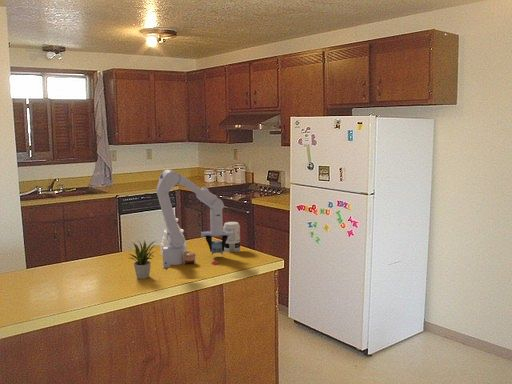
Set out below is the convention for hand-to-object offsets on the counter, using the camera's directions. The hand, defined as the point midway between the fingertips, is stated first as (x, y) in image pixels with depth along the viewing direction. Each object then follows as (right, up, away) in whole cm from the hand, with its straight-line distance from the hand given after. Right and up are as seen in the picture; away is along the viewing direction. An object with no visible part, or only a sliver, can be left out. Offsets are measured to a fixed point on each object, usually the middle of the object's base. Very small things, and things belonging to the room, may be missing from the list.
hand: (217, 251), depth 232 cm
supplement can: (+6, -3, +14) cm, 16 cm away
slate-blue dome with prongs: (0, -1, 0) cm, 2 cm away
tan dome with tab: (-12, -6, -9) cm, 16 cm away
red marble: (0, -4, -9) cm, 10 cm away
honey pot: (-23, -3, +13) cm, 26 cm away
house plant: (-29, -8, -22) cm, 37 cm away
